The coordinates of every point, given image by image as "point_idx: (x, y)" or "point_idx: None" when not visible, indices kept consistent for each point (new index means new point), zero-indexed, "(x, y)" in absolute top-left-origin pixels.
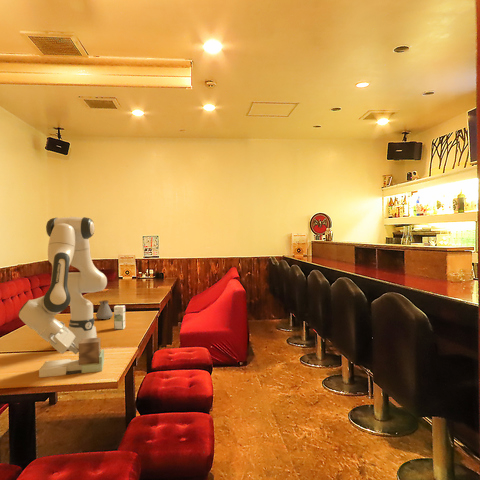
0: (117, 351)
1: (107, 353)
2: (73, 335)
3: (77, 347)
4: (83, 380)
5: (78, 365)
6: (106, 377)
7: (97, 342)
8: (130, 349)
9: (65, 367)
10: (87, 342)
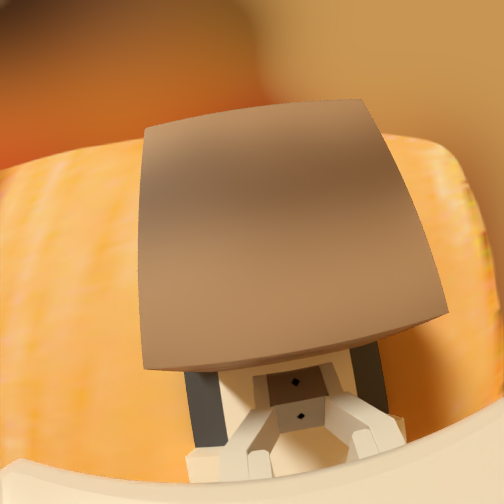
0: (25, 222)
1: (31, 264)
2: (28, 488)
3: (255, 398)
4: (464, 272)
5: (347, 353)
6: (422, 178)
7: (366, 110)
8: (28, 176)
9: (402, 421)
10: (389, 203)
